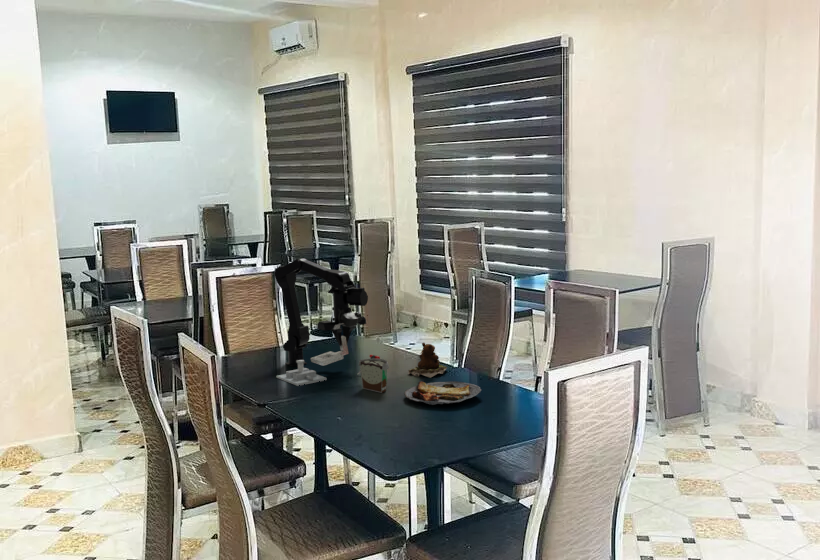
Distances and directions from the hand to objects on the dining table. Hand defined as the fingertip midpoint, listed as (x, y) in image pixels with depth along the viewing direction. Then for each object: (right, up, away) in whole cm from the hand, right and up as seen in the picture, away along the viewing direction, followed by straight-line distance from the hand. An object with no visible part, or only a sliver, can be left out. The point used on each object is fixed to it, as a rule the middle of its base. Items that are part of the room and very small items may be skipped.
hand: (343, 345), depth 304 cm
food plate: (+36, -14, -42) cm, 57 cm away
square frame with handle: (-4, -5, -2) cm, 7 cm away
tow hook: (+13, -12, -5) cm, 18 cm away
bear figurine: (+33, -10, -8) cm, 35 cm away
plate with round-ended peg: (-14, -12, -12) cm, 22 cm away
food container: (+15, -13, -29) cm, 35 cm away
